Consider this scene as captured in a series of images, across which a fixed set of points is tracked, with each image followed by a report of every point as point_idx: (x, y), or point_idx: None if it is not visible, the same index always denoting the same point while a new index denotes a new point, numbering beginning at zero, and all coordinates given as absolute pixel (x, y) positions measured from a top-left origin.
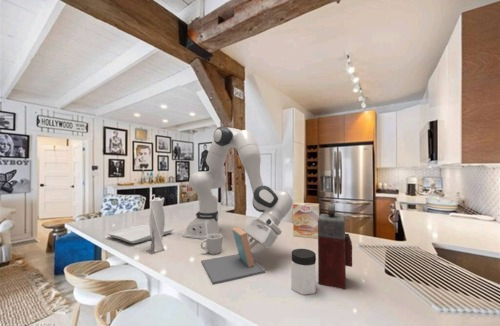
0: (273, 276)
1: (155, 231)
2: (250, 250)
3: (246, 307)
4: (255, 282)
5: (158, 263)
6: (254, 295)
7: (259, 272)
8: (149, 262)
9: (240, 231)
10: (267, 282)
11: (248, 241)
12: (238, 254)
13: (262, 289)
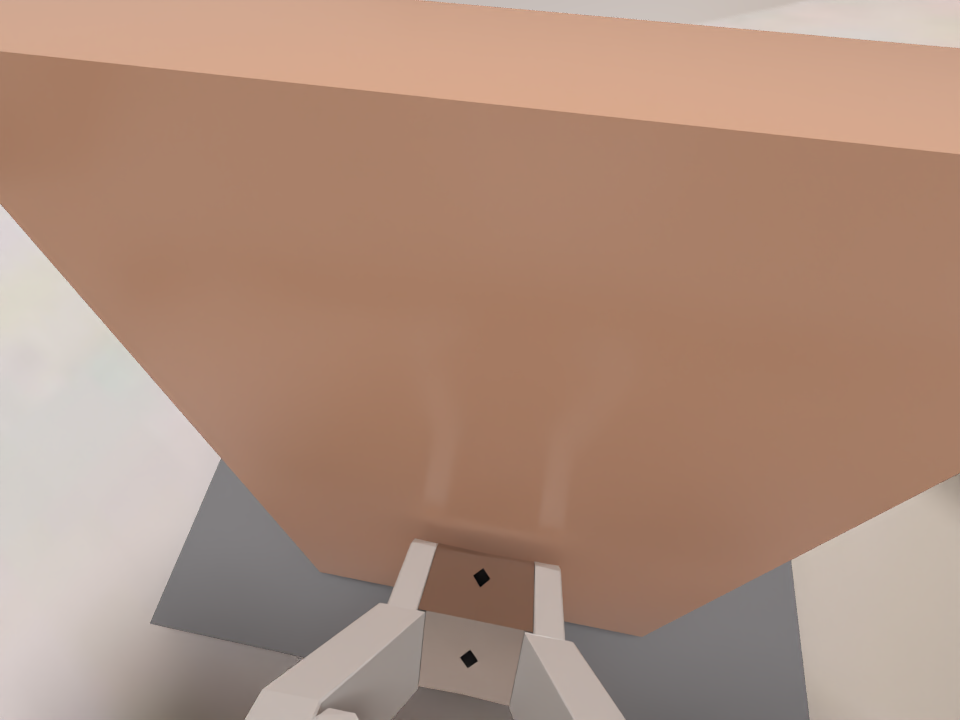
0: (36, 649)
1: None
2: (247, 480)
3: (9, 215)
4: (133, 409)
5: (825, 35)
6: (32, 306)
7: (190, 537)
8: (859, 9)
9: (392, 36)
10: (34, 501)
11: (138, 362)
12: (777, 611)
13: (18, 394)
